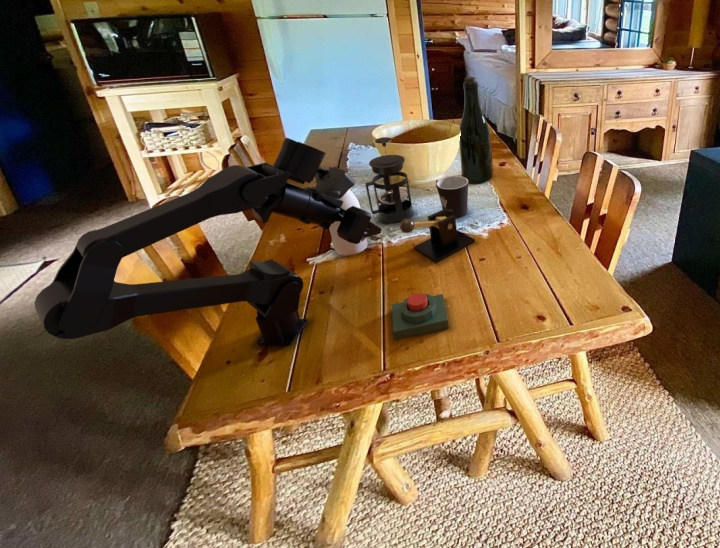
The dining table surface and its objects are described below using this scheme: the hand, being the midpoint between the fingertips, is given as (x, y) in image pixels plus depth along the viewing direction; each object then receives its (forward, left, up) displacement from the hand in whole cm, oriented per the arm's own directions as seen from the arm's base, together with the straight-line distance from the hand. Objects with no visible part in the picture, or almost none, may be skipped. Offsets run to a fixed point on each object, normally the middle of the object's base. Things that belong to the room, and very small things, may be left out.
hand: (367, 224), depth 92 cm
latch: (+9, -9, -7) cm, 14 cm away
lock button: (-13, -14, -10) cm, 21 cm away
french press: (+27, +6, -14) cm, 31 cm away
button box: (-13, -14, -14) cm, 23 cm away
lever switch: (+13, -12, -14) cm, 22 cm away
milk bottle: (+11, +11, -14) cm, 21 cm away
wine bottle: (+55, -12, -14) cm, 58 cm away
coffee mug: (+31, -10, -14) cm, 36 cm away
